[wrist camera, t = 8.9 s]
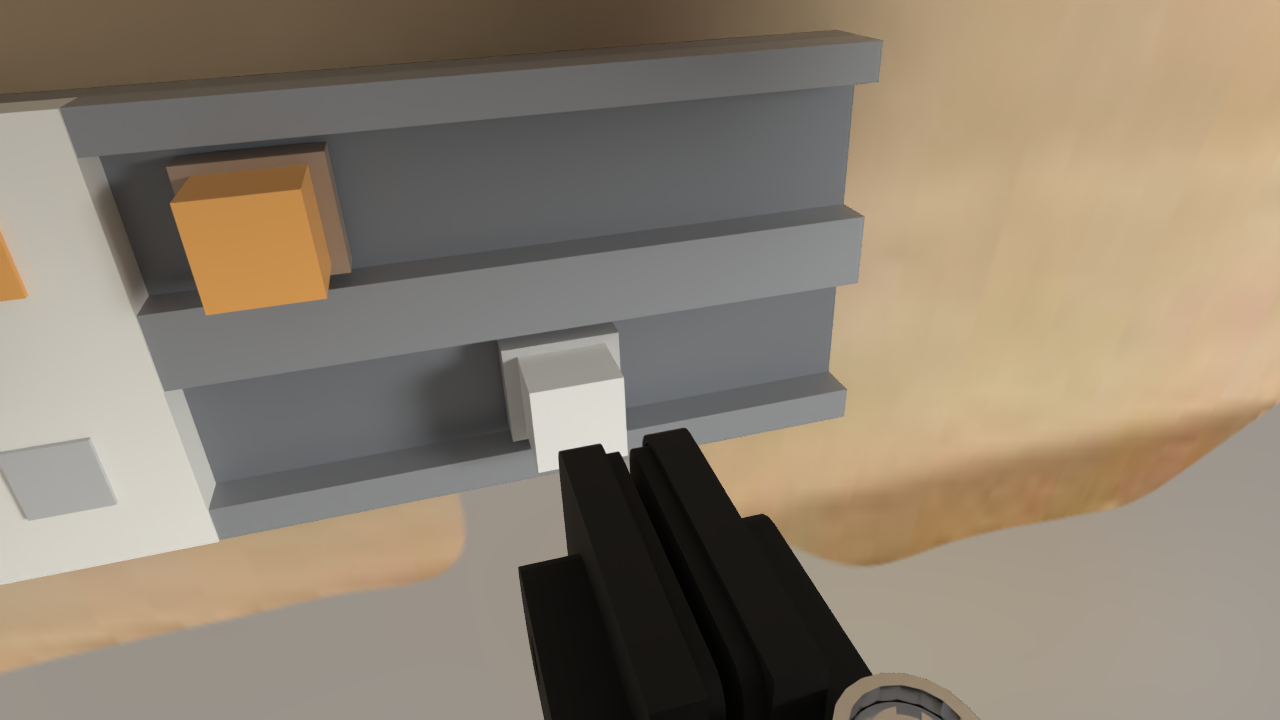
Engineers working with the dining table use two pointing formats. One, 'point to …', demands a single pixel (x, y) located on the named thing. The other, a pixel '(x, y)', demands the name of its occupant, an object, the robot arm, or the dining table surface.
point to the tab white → (565, 391)
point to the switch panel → (512, 209)
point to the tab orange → (260, 225)
